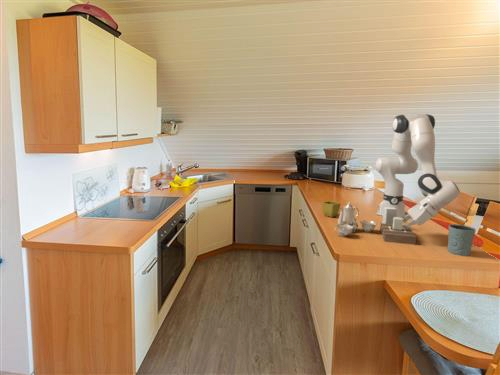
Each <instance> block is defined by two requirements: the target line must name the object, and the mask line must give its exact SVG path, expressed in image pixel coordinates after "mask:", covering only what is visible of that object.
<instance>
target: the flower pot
mask: <svg viewBox="0 0 500 375" xmlns="http://www.w3.org/2000/svg"><path fill="white" fill-rule="evenodd" d="M340 208H341V203H340V202H338V201H337V202H336V201H332V200H327V201H323V202H321V209H322V210H321V211H322V213H323V215H324V216H325V217H328V216H329V217H328V218H334V217H337V215H338V214H339V211H340Z"/></svg>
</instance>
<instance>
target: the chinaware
mask: <svg viewBox="0 0 500 375" xmlns="http://www.w3.org/2000/svg"><path fill="white" fill-rule="evenodd" d="M342 207H343V208H342ZM342 207H340V208H339V210H340V213H339V216H338V220H337V225H336V228H334V230H333V232H334V234H335V235H338V236H341V235H342V236H345V237H344V238H347V237H346V236H349V235H351V234H354V233H355V232H356V230H357V229H358V228H359V225H358V222H357V218H358V216H359V211H360V210H359V208H358V207H355V206H353V204H351V201H348V202H347V204H346V205H343V206H342ZM355 209H356V212H357V213H356V214H355ZM359 222H360V224H361V228H362V230H363V231H364V233H368V234H369V233H371V232H372V231H374V230H375V229H376V226H377V225H378V222H377V223H376V222H375V221H374V220H373V221H372V220H370V221H368V220H362V221H359ZM336 230H337V231H338V232H336ZM353 232H354V233H353ZM342 236H341V237H342Z"/></svg>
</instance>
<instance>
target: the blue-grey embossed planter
mask: <svg viewBox="0 0 500 375" xmlns="http://www.w3.org/2000/svg"><path fill="white" fill-rule="evenodd" d="M475 234H476V228H475V227H472V226H468V225H464V224H456V223H455V224H453V223H452V224H449V225H448V243H447V252H448V253H449V254H453V255H455V256H459V255H460V256H461V257H468V256H470V255H471V251H472V246H473V241H474V237H475Z"/></svg>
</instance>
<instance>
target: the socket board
mask: <svg viewBox="0 0 500 375" xmlns="http://www.w3.org/2000/svg"><path fill="white" fill-rule="evenodd" d="M379 227H380V228H379V231H380V234H381V237H382V239H383V241H384V242H386V243H387V242H388V243H397V244H405V245H406V244H407V245H416V240H417V236H416V234H415V233H414V232H413V230H412V229H411V226H410V227H407V226H406V224H403V226H402V231H396V230H392V227H393V224H384V223H382V222H380V225H379Z"/></svg>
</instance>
